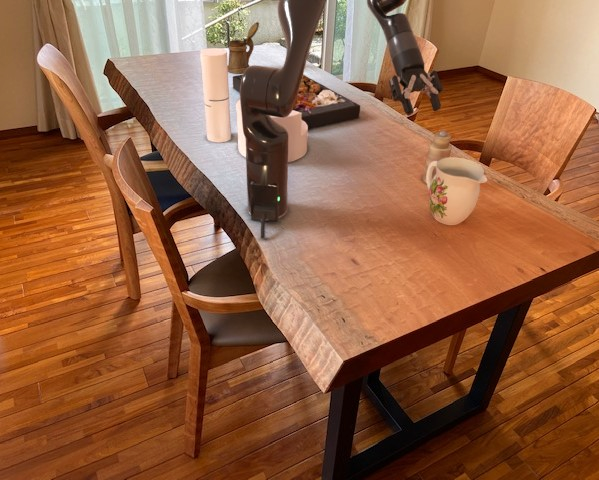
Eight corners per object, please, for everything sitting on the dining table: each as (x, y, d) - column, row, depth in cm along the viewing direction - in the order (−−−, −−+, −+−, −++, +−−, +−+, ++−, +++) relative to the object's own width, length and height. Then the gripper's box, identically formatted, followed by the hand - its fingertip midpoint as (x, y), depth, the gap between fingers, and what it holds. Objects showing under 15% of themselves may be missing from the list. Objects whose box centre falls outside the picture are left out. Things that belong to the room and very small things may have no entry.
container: (320, 146, 146) (323, 102, 138) (277, 170, 133) (277, 123, 125) (269, 128, 156) (268, 86, 148) (223, 149, 143) (221, 104, 135)
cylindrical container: (226, 143, 146) (221, 56, 131) (203, 140, 147) (196, 54, 132) (234, 134, 152) (230, 49, 137) (211, 131, 153) (205, 47, 138)
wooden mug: (263, 71, 202) (262, 24, 191) (230, 74, 197) (228, 26, 187) (256, 65, 208) (255, 19, 198) (224, 67, 204) (222, 21, 193)
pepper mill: (445, 186, 130) (456, 136, 121) (423, 184, 130) (433, 134, 122) (442, 176, 134) (453, 127, 126) (421, 174, 134) (431, 125, 126)
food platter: (359, 118, 165) (362, 87, 159) (296, 132, 154) (296, 100, 148) (289, 78, 196) (290, 51, 189) (233, 88, 185) (231, 59, 179)
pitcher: (440, 193, 127) (452, 143, 119) (489, 230, 113) (505, 177, 105) (404, 201, 123) (413, 150, 115) (450, 240, 110) (464, 186, 102)
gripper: (389, 49, 124) (409, 109, 123) (435, 44, 129) (454, 102, 128) (375, 64, 131) (394, 121, 129) (419, 59, 136) (437, 114, 135)
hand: (424, 112), depth 129 cm, fingers open, 8 cm apart
